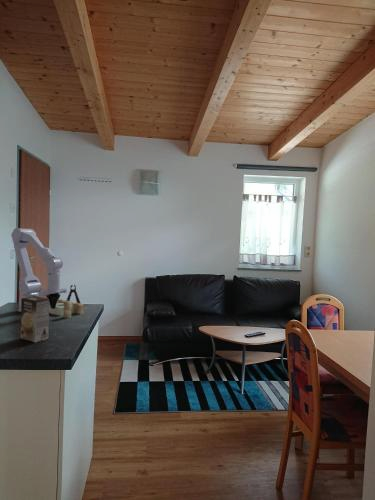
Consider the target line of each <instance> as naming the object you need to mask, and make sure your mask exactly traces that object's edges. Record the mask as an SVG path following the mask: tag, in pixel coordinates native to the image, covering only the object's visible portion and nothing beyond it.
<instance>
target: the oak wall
mask: <svg viewBox="0 0 375 500" xmlns="http://www.w3.org/2000/svg"><path fill="white" fill-rule="evenodd" d="M66 300H67V299H66ZM66 300H65V299H64V300H63V299H60V298H59V299H58V301H57V304H58V303H64V301H66ZM80 303H81V302H80ZM80 303H77V302H76V301H75V302H74V301H72V305H74V313H73V314H78V315H83V314H85V304H84V303H81V304H80Z"/></svg>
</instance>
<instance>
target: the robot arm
mask: <svg viewBox="0 0 375 500" xmlns="http://www.w3.org/2000/svg"><path fill="white" fill-rule="evenodd" d="M10 236H11V239H12V243H13V249H14V253H15V255H16V256H15V257H16V259H17V263H18V267H19V271H20V275H21V277H22V278H21V279H20V280H19V282H18V284H19V288H18V289H19V292H20V294H21V295H20V297H19V301H18V303H19V307H18V309H17V312H20V313H21V298H26V297H32V296H38V297H44V296H45V298H48V299H49V305H50V307H51V308H52V309H55V307H56V304H57V301H58V300H59V299H60V298H61V294H63V293H64V294H66V293H67V292H68V291H67V288H60V281H61V280H60V277H61V269H62V268H63V266H64V265H63V260H62V259H61V258H60V257H57V256H56V255H54V253H53V252H52V251H51V248H50V247H45V246H44V245H43V243H42V242H41V241H40V239H39V238H38V236H37V232H35V230H34V229H33V228H20V227H16V228H14V229H13V230H12V233H11V235H10ZM30 244H31V245H32V247H33V248H34V249H36V251H37V252H38V253H37V254H38V256H39V257H40V259H41V260H42V261H43V262H44V266H45V269H46V273H47V284H46V285H47V286H46V287H47V289H46V290H43V288H42V287H43V285H42V283H41V282H40V280H39V277H37V276H36V275H34V272H33V268H32V265H31V261H30V258H29V255H28V254H29V253H28V250H27V246H29V245H30ZM42 290H43V291H42Z"/></svg>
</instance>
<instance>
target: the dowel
mask: <svg viewBox="0 0 375 500" xmlns="http://www.w3.org/2000/svg"><path fill="white" fill-rule="evenodd" d="M72 302H73V301H72V300H70V301H64V315H63V319H71V318H72V313H71V308H72Z"/></svg>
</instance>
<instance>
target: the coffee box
mask: <svg viewBox="0 0 375 500" xmlns="http://www.w3.org/2000/svg"><path fill="white" fill-rule="evenodd" d="M49 305H50V303H49V299H48V298H47V297H44V296H39V295H38V296H32V297H26V298H21V312H20V316H21V317H20V339H22V340H26V341H28V340H29V342H31V341H32V342H31V343H38V341H39V342H41V340H42V341H45V340H49V325H50V324H49V323H50V322H49V321H50V318H49V317H50V313H49Z"/></svg>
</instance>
